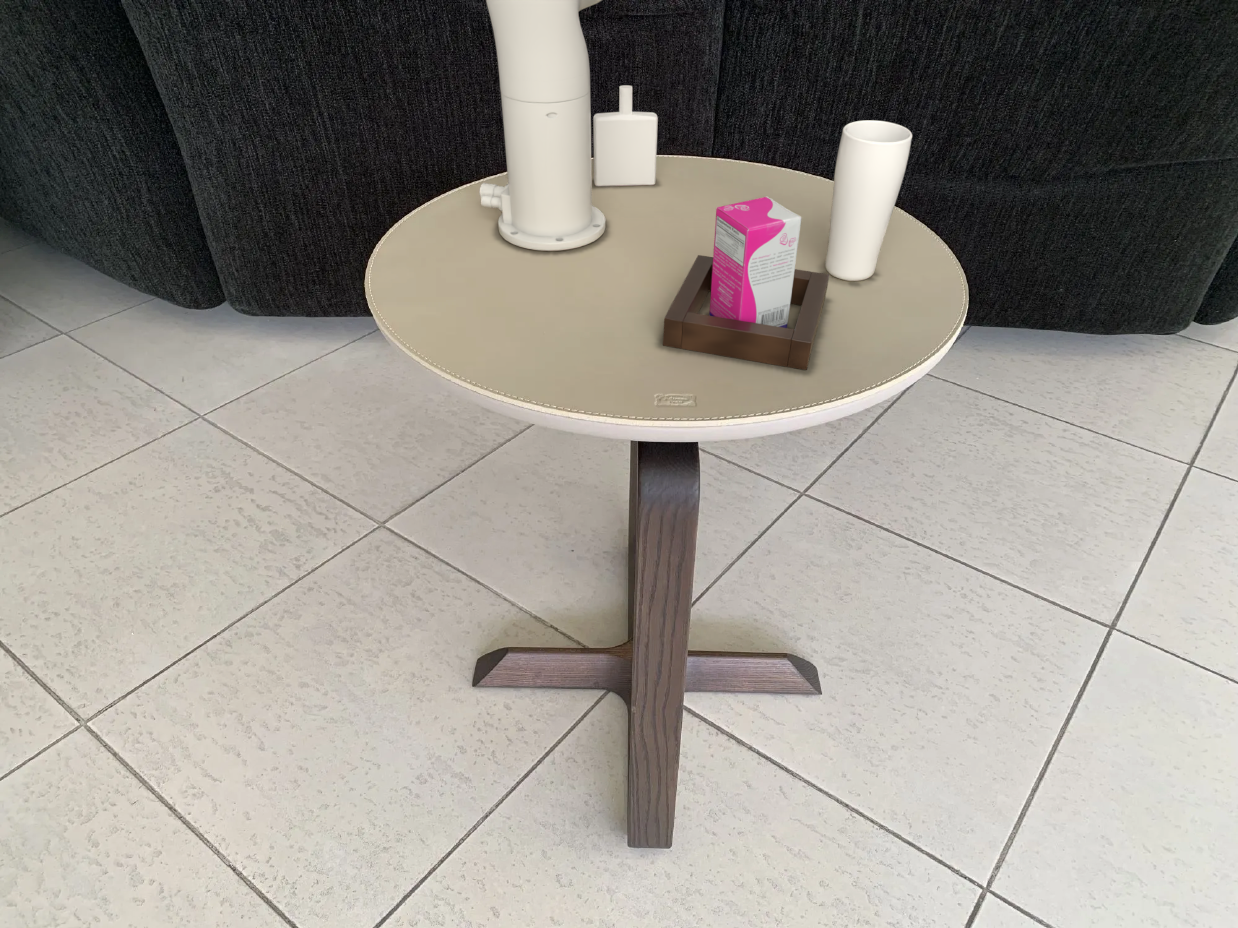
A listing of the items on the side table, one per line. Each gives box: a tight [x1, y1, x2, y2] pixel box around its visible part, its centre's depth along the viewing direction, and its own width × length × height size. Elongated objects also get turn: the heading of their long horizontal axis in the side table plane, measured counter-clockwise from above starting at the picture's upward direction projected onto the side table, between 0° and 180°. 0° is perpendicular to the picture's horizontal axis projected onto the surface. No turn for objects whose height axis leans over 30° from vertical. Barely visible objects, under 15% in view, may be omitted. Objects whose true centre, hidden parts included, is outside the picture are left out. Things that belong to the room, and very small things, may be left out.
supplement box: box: [708, 196, 802, 328], centre depth 79 cm, size 6×6×12 cm
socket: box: [662, 254, 830, 371], centre depth 81 cm, size 14×14×3 cm
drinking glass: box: [824, 119, 913, 282], centre depth 86 cm, size 7×7×15 cm
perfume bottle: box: [592, 84, 659, 187], centre depth 105 cm, size 8×2×12 cm, turn 95°
